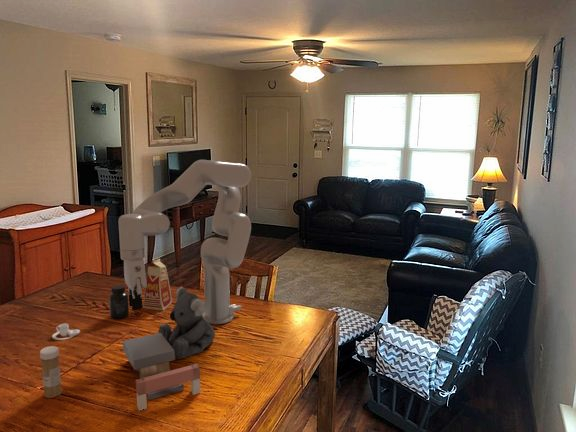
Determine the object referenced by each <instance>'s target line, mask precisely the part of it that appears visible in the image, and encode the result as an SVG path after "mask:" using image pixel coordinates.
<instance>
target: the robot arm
mask: <svg viewBox="0 0 576 432" xmlns="http://www.w3.org/2000/svg"><path fill="white" fill-rule="evenodd" d="M251 179H252V171H251V170H250V167H249V166H247V165H246V164H244V163H238V162H229V161H217V160H211V159H209V160H207V159H198V160H196V161H194V162H193V163H192V164H191V165H190V166H189V167H188V168H187V169H186V170H185V171H184V172H183V173H182V174H181V175H180V176H179V177H177V178H176V179H175V181H174V182H173V183H172V184H171V183H170V185H168V186H166V187H163V188H162V189H160V190H158V191H156V192H155V193H153V194H151V195H149V196H148V197H146V198H145V199H144V200H143V201H142V202H141V203H140V204H139V205H137V207H136V208H135V209H134V210H133V212H132V213H126V214H122V215H120V216H119V218H118V234H119V235H118V237H119V238H118V239H119V253H120V259H121V260H122V261H123V275H124V283H125V284H126V285H127V287H128V288H127V289H128V290H127V291H128V303H129V308H130V307H131V309H132V311H138V310H142V309H144V308H143V292H142V288H143V289H144V290H145V289H146V288H147V283H146V281H147V273H146V266H145V260H144V259H145V258H146V244H145V242H146V241H145V237H146V236H159V235H162V234H165V233H167V231H168V230H169V228H170V225H171V222H170V219H169V217H168V216H167V215H166V214H164V213H163V212H164V211H166V210H168V209H171V208H174V207H180V206H183V205H187V204H189V203H191V202H192V200H193V199H195V197H196V196H197V195H199V193H200V192H201V191H202V190H203V189H204V188H205V187H206V186H209V185H210V186H216V188H217V193H218V199H217V203H216V206H215V209H214V213H213V217H212V222H211V228H212V232H214V233H215V234H217V235H219V236H225V237H227V239H224V238H219V237H210V238H207V239H205V240H204V241H203V242H202V244H201V246H200V257H201V258H200V259H201V261H202V264H203V265H202V266H203V289H204V297H203V298H204V304H205V309H206V310H205V313H203V315H202V316H203V318H204V319H205V321H206V322H208V323H209V324H210V325H222V324H223V325H224V324H227V323H230V322H231V321H233V320H234V317H235V313H234V312H238V311H241V310H242V305H241V304H239V305H236V304H235V303H234V304H230V303H231V301H230V299H231V297H230V296H231V295H230V291H231V290H230V271H229V269H236V268H238V267H240V265H241V264H242V263H243V260H244V259H245V254H246V252H247V248H248V244H249V241H250V237H251V233H252V232H251V231H252V223H251V219H250V218H249V216H248V215H247V214H244V213H242V212H239V211H240V206H241V201H242V196H241V191H240V188H244V187H246V186H247V185H248V184H249V183H250V182H251Z"/></svg>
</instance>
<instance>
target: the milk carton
mask: <svg viewBox="0 0 576 432" xmlns="http://www.w3.org/2000/svg"><path fill="white" fill-rule="evenodd" d="M168 275H169V274H168V270H167V266H166V265H165V264H164V263H163V262H161V258H157V259H153V260H152V263H151V264H149V265H148V266H147V273H146V283H147V288H146V289H144V295H143V296H144V298H143V302H142V307H143V308H142V309H147V310H156V311H165V310H166V309H167V308H168V307H169V306H170V305H171V304H172V303H173V300H172V292H171V286H170V280H169V276H168Z"/></svg>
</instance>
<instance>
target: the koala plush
mask: <svg viewBox="0 0 576 432" xmlns="http://www.w3.org/2000/svg"><path fill="white" fill-rule="evenodd" d="M176 289H177V290H176V292H175V296H176V301H175V303H174V306H173V308H172V310H171V312H170V314H169V318H170V320H171V321H174V322H175V323H176V325H175V326H174V327H173V330H172V328H171V326H170V324H169V323H164V324H160V325H159V328H158V333H161V334H162V335H163V336H164V338H165V339H166V340H167V342H168V343H169V344H170V345H171V347H172V348H173V349H174V351H175V360H176V359H177V360H182V359H186V358H188V357H190V356H193V355H195V354H199V353H202V352H203V351H204V350H205V349H206V348H208V347H209V346H210V344H212V343H213V341H214V339H215V337H216V333H215V330H214V328H213V327H212V324H209V323H208V322H206V321H205V319H204V318H203V316H202V315H203V313H205V310H206V309H205V300H203V299H201V298H200V297H199V296H198V295H197V294H195V293H194V292H188V290H187V289H186V288H184V287H183V286H179V288H176Z"/></svg>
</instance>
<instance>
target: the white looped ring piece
mask: <svg viewBox="0 0 576 432" xmlns="http://www.w3.org/2000/svg"><path fill="white" fill-rule="evenodd" d="M55 330H56V332H55V333H53V334H52V336H51V338H52V339H53V340H56V341H57V340H58V341H60V340H61V341H63V340H64V341H65V340H70V339H71V338H73V337H75V336H77V335H79V334H80V332H81V330H80V329H78V328H75V329H70V327H69V323H61V324H59V325H57V326H56V328H55ZM59 334H60V336H61V337H58V336H57V335H59ZM66 336H68V337H66ZM62 337H63V338H62Z"/></svg>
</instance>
